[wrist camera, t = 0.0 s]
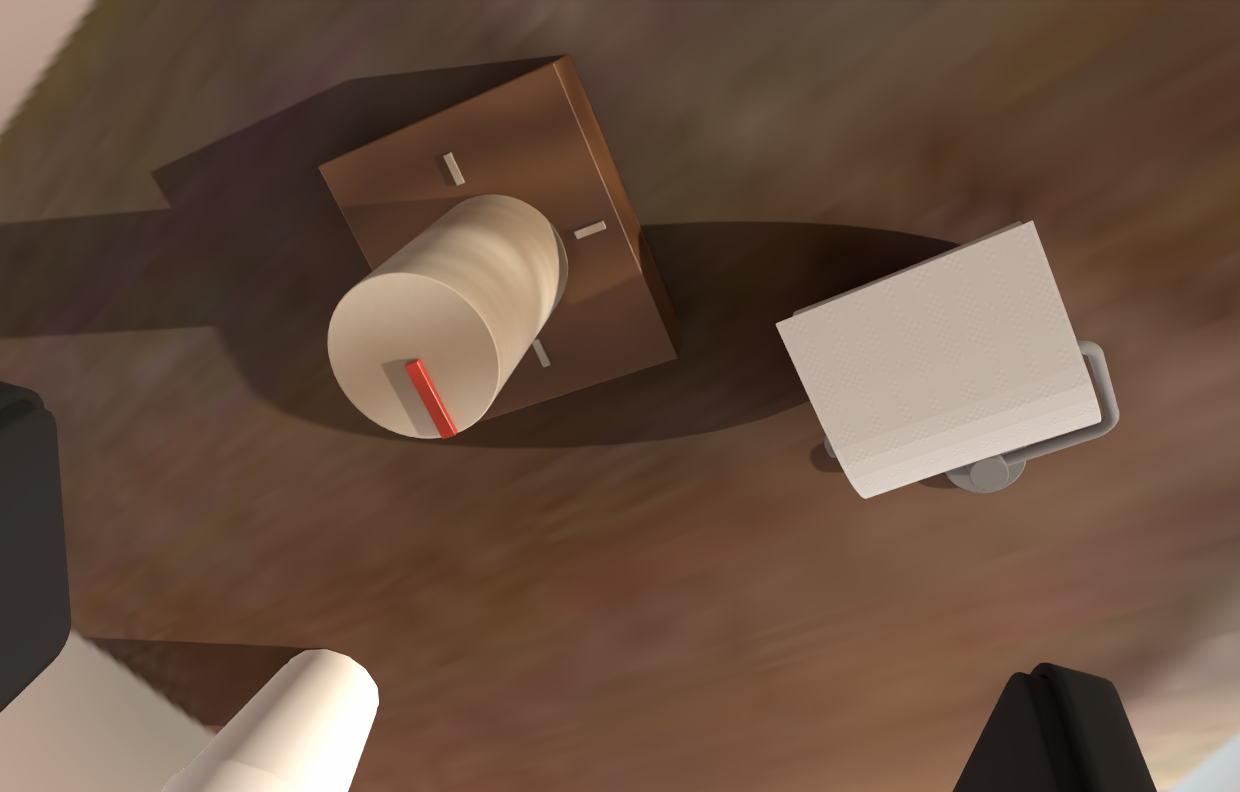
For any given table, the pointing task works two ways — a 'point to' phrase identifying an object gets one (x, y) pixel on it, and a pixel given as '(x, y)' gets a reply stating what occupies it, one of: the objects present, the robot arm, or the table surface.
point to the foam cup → (291, 732)
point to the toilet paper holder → (950, 368)
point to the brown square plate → (552, 184)
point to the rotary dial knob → (448, 317)
